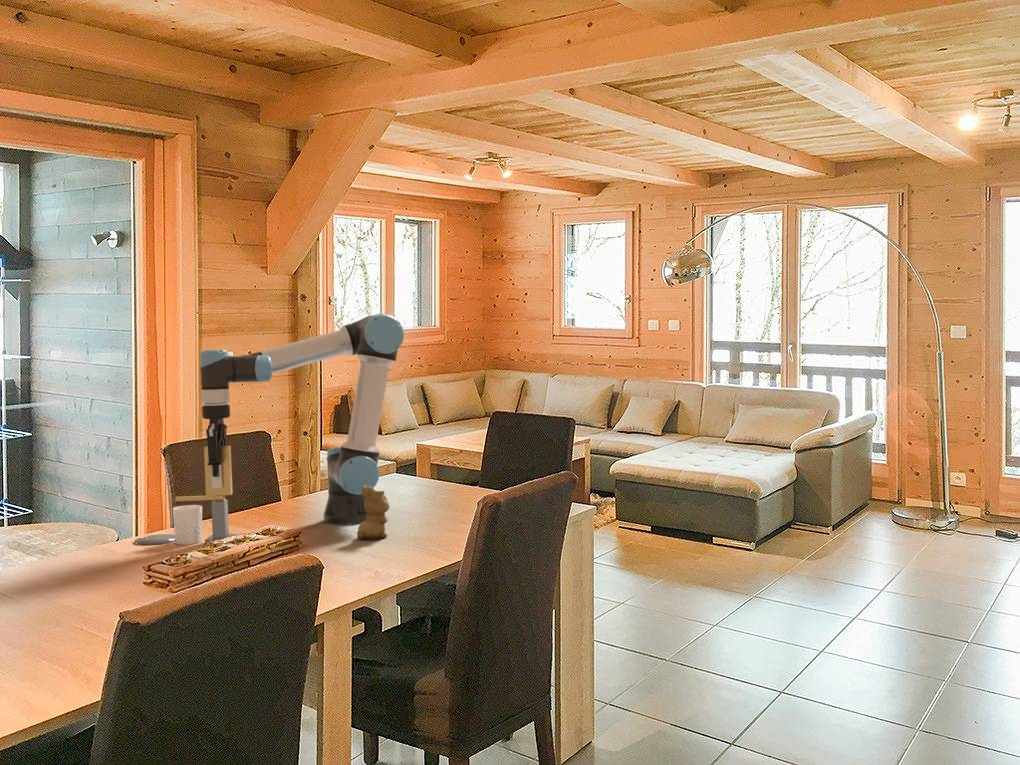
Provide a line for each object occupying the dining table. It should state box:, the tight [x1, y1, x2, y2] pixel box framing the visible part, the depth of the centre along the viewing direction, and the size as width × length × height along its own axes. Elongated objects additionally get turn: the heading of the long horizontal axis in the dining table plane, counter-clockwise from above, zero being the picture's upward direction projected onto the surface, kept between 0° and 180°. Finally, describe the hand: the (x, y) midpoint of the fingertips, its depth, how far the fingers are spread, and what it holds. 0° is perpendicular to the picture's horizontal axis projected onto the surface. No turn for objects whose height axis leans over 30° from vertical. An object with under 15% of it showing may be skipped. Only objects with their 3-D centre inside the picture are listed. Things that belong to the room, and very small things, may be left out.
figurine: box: [356, 485, 390, 541], centre depth 259 cm, size 10×8×15 cm
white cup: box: [172, 504, 203, 546], centre depth 260 cm, size 8×8×10 cm
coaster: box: [134, 533, 176, 546], centre depth 263 cm, size 12×12×1 cm
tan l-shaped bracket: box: [174, 445, 233, 502], centre depth 260 cm, size 16×3×15 cm, turn 93°
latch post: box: [204, 499, 237, 544], centre depth 260 cm, size 7×7×12 cm
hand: (218, 486), depth 260 cm, fingers open, 3 cm apart
